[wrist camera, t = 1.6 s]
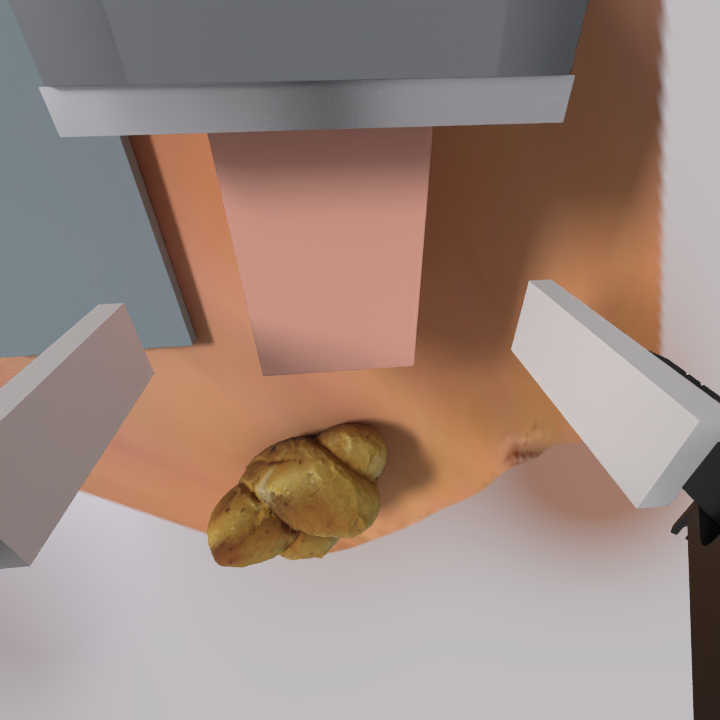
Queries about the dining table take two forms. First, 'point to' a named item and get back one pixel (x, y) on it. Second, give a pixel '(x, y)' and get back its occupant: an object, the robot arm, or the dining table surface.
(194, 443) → the dining table surface
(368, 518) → the bread roll
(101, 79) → the box
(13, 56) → the mat
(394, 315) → the salmon pink rectangular block
